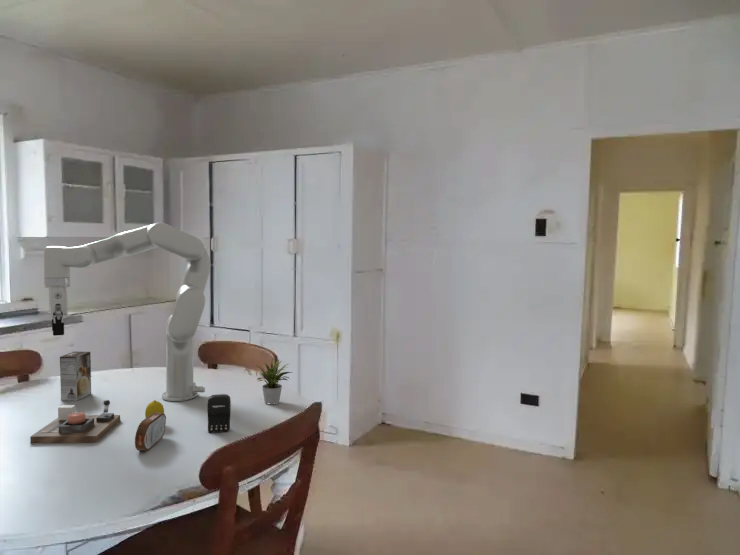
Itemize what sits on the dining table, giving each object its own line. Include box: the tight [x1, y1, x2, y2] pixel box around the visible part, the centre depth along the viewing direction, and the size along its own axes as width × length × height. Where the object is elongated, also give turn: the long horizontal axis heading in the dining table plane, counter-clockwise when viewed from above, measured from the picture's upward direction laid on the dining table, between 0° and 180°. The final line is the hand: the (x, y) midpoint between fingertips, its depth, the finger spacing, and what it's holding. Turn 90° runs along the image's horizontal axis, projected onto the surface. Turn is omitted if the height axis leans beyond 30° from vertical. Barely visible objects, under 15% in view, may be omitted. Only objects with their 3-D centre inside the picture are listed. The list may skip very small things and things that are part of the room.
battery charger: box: [206, 393, 232, 433], centre depth 161 cm, size 7×4×11 cm, turn 103°
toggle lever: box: [103, 399, 111, 413], centre depth 165 cm, size 2×2×4 cm
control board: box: [29, 412, 121, 444], centre depth 158 cm, size 18×18×4 cm
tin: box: [134, 412, 167, 452], centre depth 150 cm, size 15×3×8 cm, turn 178°
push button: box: [68, 411, 87, 424], centre depth 155 cm, size 5×5×2 cm
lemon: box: [144, 400, 165, 418], centre depth 165 cm, size 6×6×8 cm
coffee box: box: [59, 351, 92, 402], centre depth 191 cm, size 9×6×16 cm
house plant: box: [256, 358, 293, 404], centre depth 189 cm, size 14×14×16 cm
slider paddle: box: [57, 404, 76, 420], centre depth 163 cm, size 4×2×4 cm, turn 96°
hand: (58, 332), depth 178 cm, fingers open, 9 cm apart
